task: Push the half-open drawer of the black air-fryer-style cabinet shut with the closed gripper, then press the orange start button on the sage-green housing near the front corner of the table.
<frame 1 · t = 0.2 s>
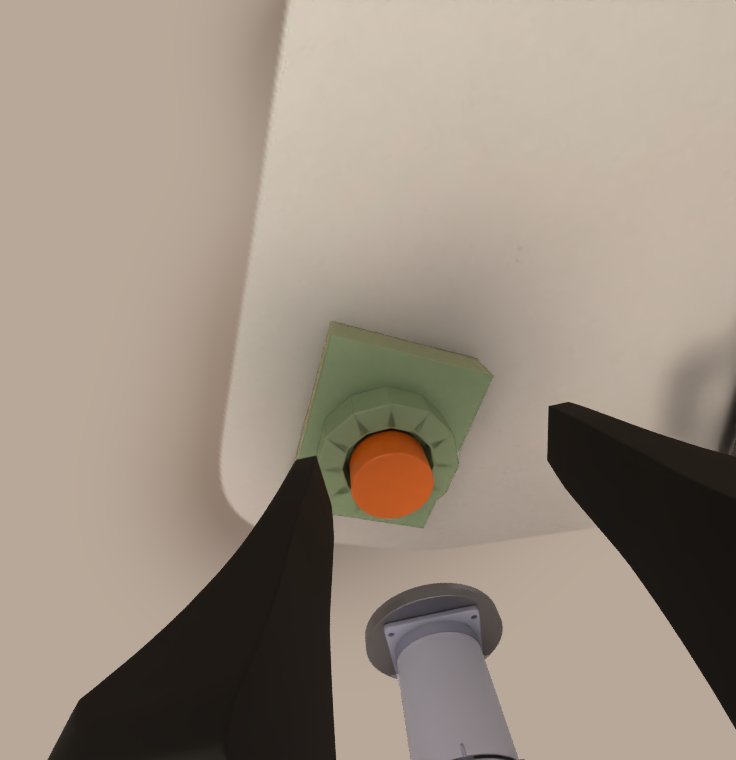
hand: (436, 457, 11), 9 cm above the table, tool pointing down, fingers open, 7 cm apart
start button: (390, 474, 16), point 4 cm above the table, slide at 0.1 cm
button housing: (378, 422, 20), on the table
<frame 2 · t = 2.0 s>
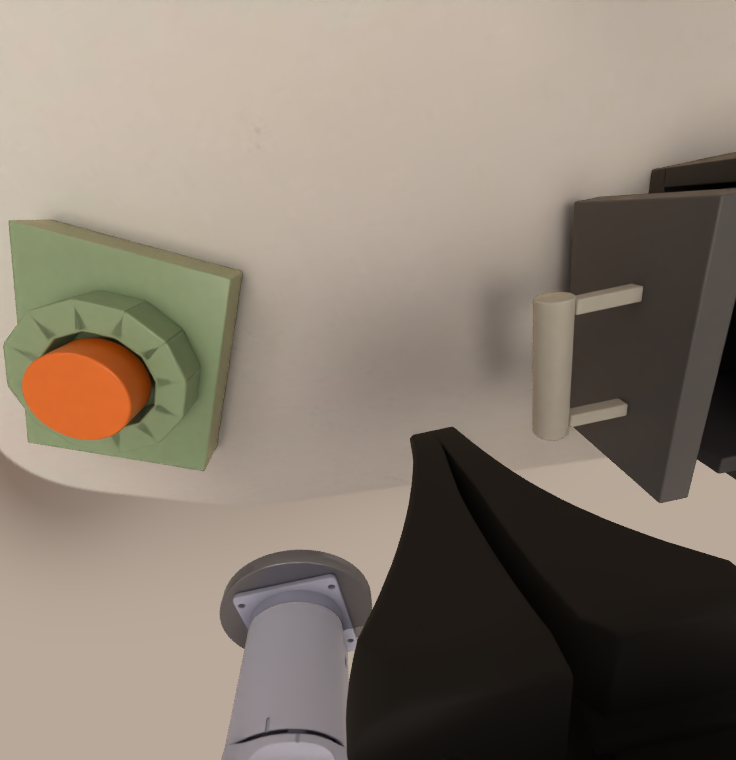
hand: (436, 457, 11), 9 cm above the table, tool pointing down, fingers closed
start button: (91, 388, 14), point 4 cm above the table, slide at 0.1 cm
button housing: (145, 349, 18), on the table
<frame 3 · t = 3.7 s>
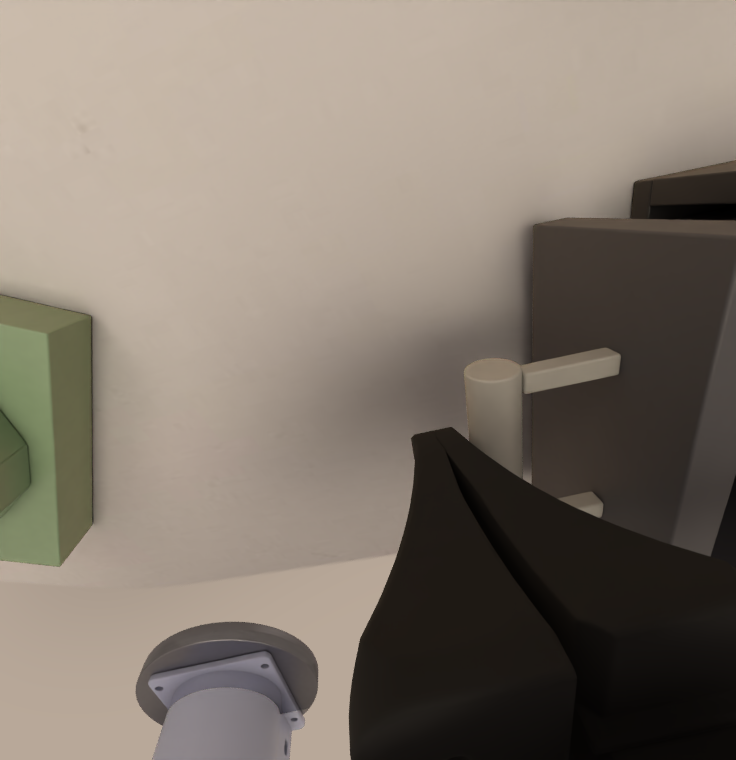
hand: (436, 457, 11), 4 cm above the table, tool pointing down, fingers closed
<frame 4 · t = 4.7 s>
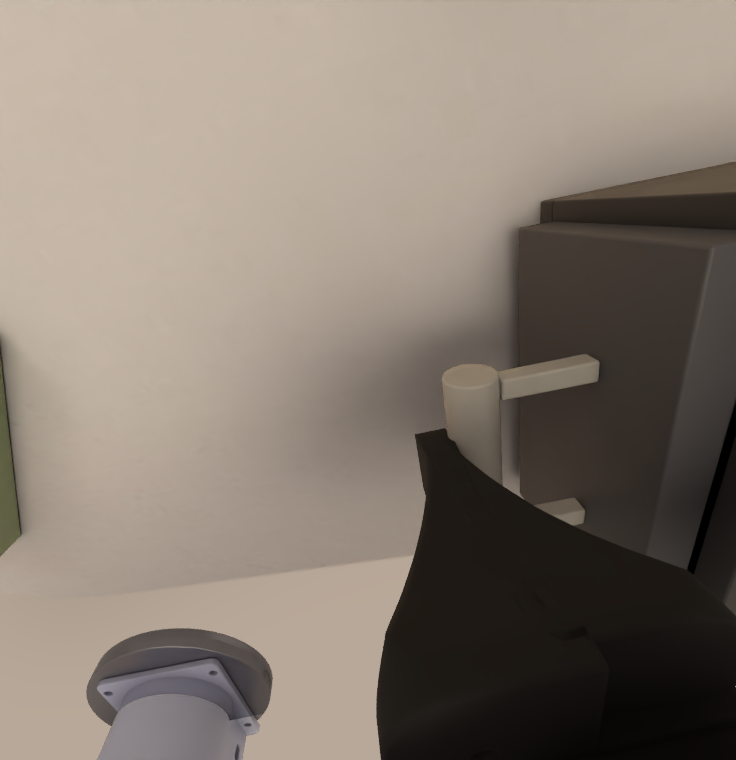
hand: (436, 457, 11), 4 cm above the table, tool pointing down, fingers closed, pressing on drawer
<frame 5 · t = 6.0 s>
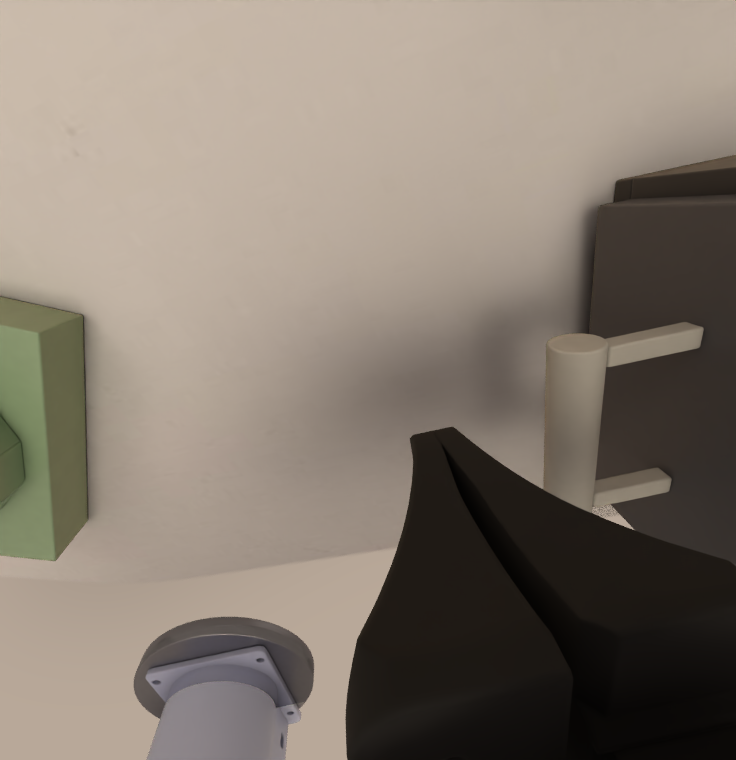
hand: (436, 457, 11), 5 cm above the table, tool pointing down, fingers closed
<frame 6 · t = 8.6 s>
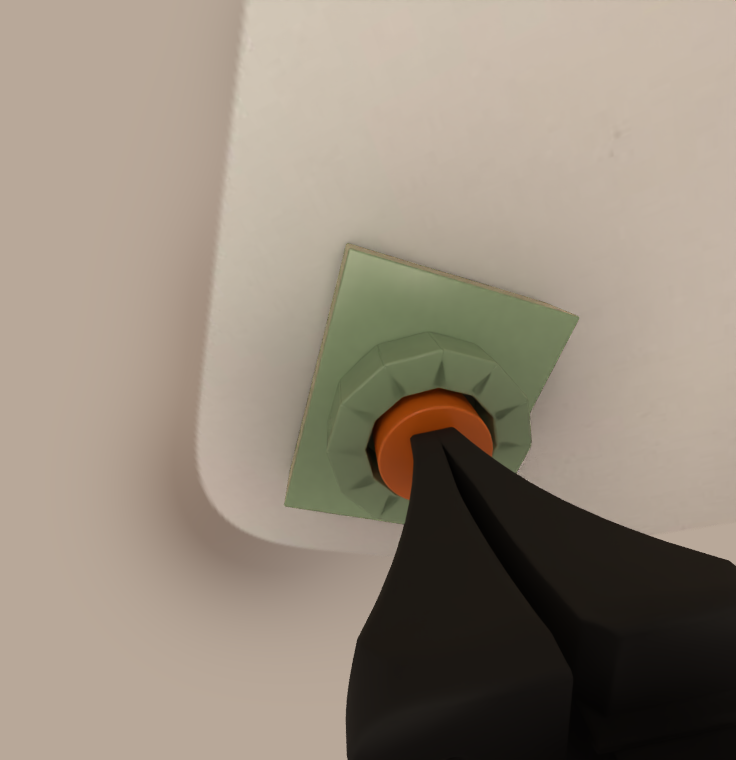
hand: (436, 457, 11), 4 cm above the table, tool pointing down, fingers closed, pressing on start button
start button: (429, 442, 12), point 4 cm above the table, slide at -0.7 cm, touching gripper
button housing: (408, 393, 15), on the table
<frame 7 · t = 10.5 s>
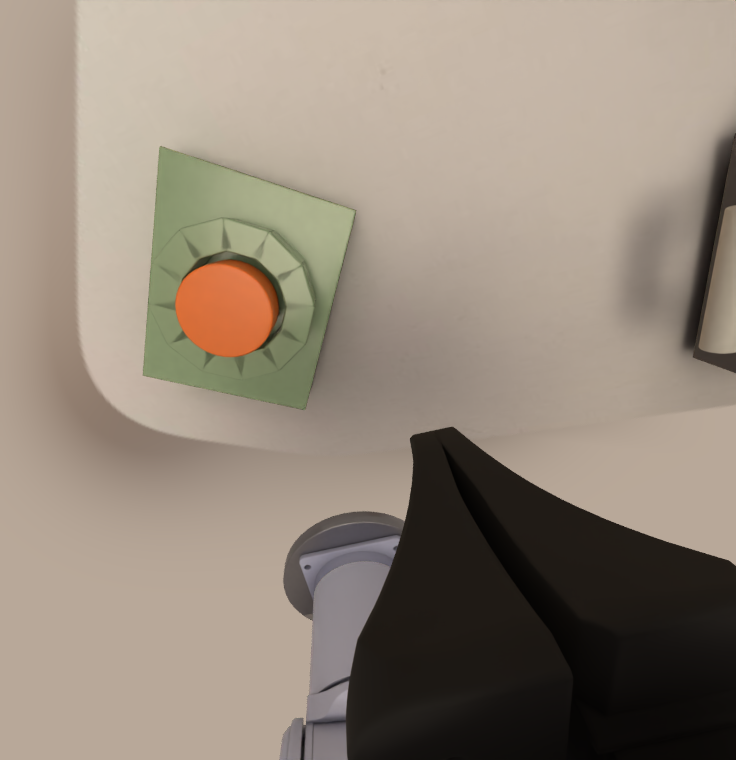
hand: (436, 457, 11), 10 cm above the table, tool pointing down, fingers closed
start button: (230, 308, 15), point 4 cm above the table, slide at 0.1 cm
button housing: (252, 290, 19), on the table
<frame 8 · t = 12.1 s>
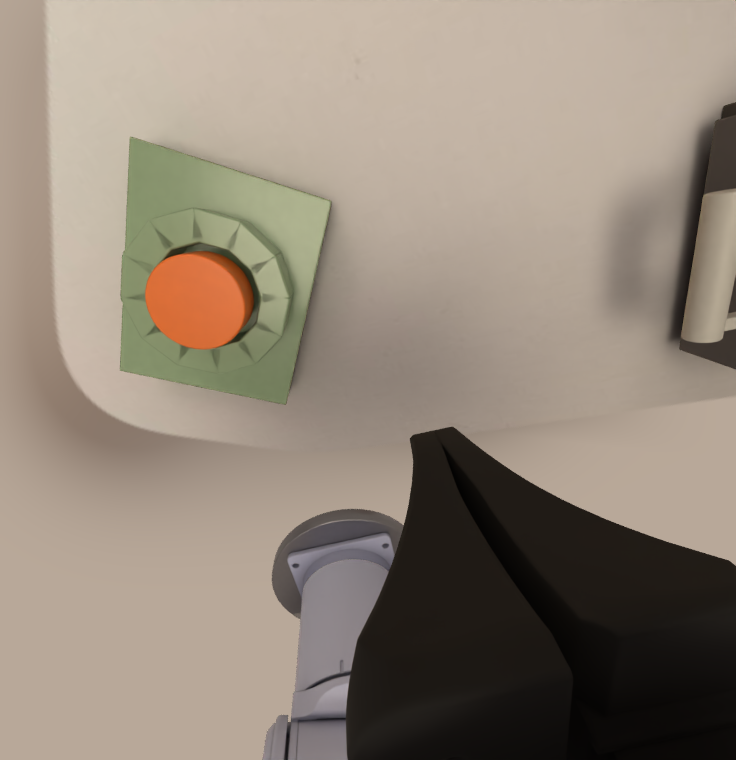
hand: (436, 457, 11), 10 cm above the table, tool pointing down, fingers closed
start button: (203, 300, 14), point 4 cm above the table, slide at 0.1 cm
button housing: (231, 284, 19), on the table
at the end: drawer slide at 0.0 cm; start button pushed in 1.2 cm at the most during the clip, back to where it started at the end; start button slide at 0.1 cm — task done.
